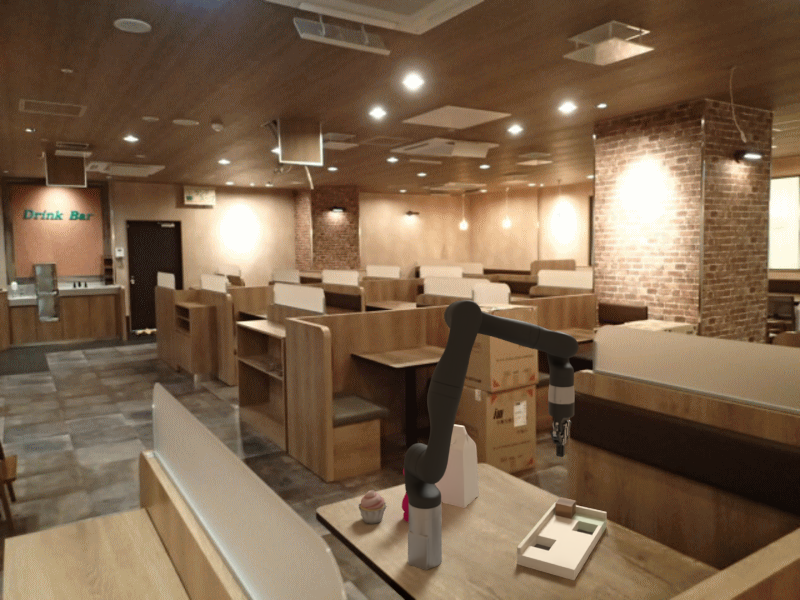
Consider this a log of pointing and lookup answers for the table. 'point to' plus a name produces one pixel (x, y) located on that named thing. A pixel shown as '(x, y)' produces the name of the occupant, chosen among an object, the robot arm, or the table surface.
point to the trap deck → (562, 542)
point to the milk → (460, 470)
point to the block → (565, 508)
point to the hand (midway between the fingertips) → (560, 455)
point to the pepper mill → (405, 506)
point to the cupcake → (372, 507)
